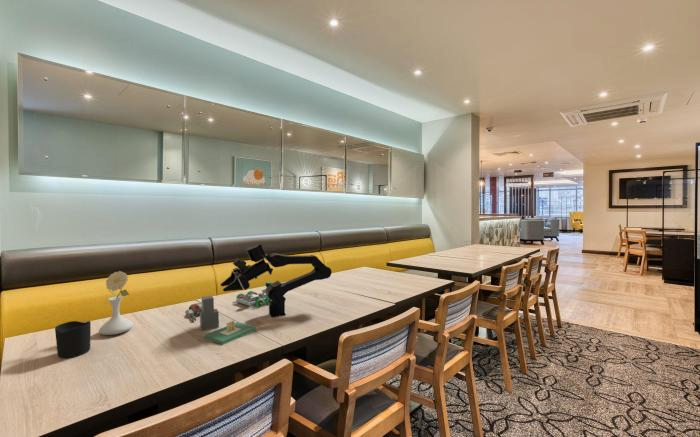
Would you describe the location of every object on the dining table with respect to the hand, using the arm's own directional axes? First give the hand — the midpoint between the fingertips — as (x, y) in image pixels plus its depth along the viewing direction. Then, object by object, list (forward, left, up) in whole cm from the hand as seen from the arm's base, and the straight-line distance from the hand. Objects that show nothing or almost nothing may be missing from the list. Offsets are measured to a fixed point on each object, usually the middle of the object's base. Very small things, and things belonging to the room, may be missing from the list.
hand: (222, 287), depth 142 cm
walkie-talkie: (+10, -16, -16) cm, 25 cm away
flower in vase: (+39, -5, -16) cm, 42 cm away
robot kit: (-20, -27, -16) cm, 37 cm away
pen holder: (+48, +11, -16) cm, 52 cm away
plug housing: (+5, +3, -15) cm, 17 cm away
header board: (-3, +14, -15) cm, 21 cm away
